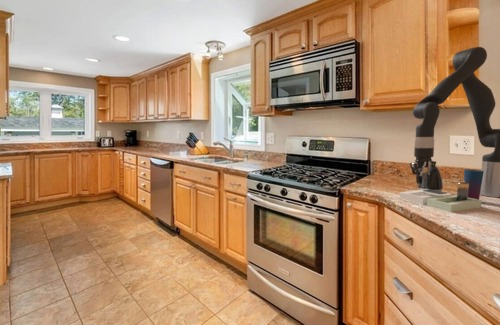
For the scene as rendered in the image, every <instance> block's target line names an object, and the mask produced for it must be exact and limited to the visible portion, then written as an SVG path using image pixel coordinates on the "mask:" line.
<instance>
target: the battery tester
mask: <svg viewBox="0 0 500 325" xmlns="http://www.w3.org/2000/svg"><path fill="white" fill-rule="evenodd" d="M446 196H453V194H452V193H447V192H445V191H436V190H431V189H424V190H420V189H417V190H407V191H400V192H399V199H401V200H405V201H408V202H411V203H412V202H413V203H415V204H420V205H427V199H431V198H438V197H446Z"/></svg>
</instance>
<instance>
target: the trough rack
mask: <svg viewBox="0 0 500 325" xmlns="http://www.w3.org/2000/svg"><path fill="white" fill-rule="evenodd" d="M482 200H483V199H479V200H478V199H473V198H468V200H465V201H458V202H457V194H455V195H452V196H446V197H438V198H431V199H427V204H426V206H427V207H429V208H434V209H437V210H438V209H439V210H442V211H445V212H449V213H454V212H461V211H466V210H473V209H478V208H482Z"/></svg>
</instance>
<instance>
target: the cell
mask: <svg viewBox="0 0 500 325" xmlns="http://www.w3.org/2000/svg"><path fill="white" fill-rule="evenodd" d="M419 169H421V168H419ZM419 173H420V171H419ZM427 174H428V167H425V169H424V171H423V173H422V184H417V188H418V189H420V188H422V189H426V188H427Z"/></svg>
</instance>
